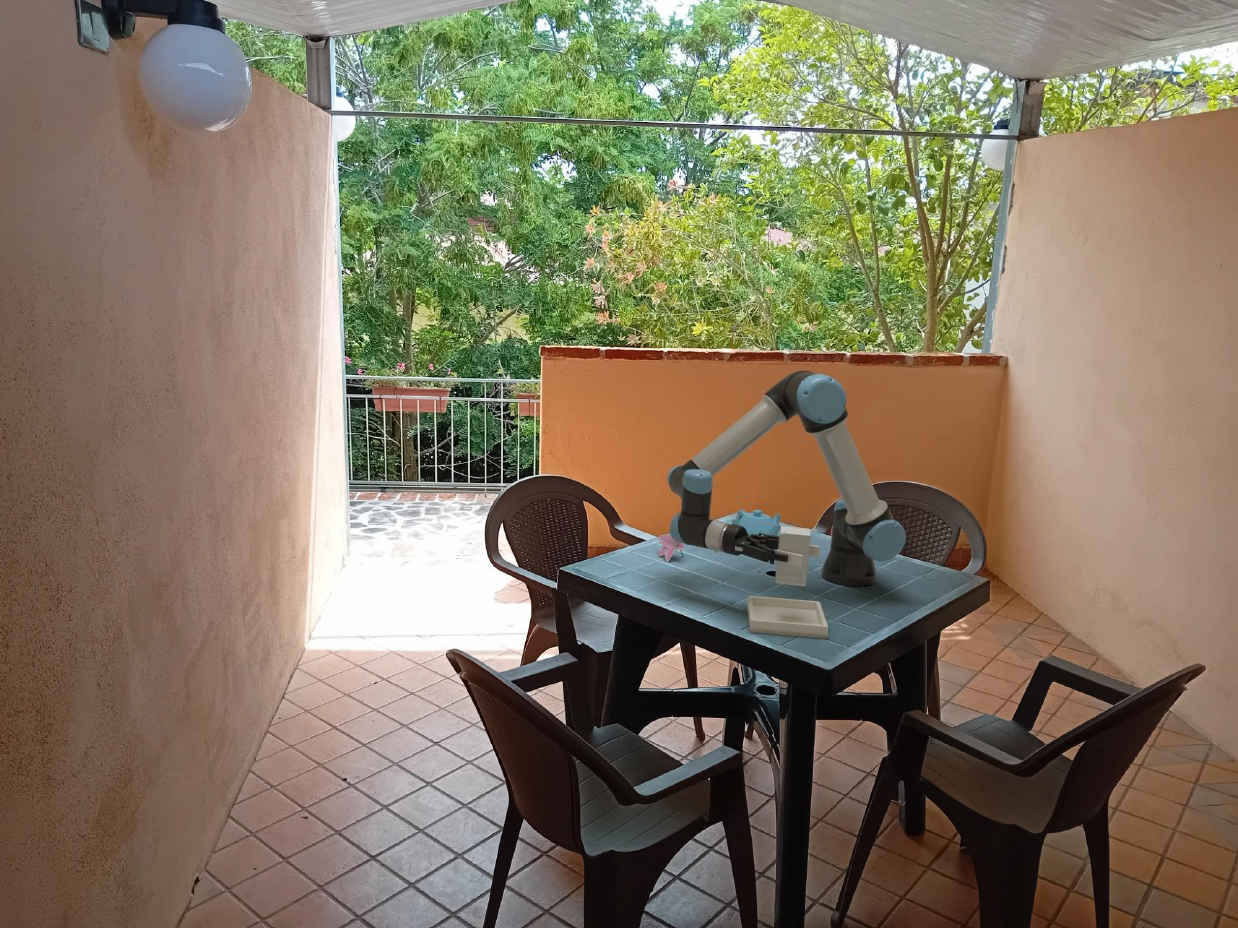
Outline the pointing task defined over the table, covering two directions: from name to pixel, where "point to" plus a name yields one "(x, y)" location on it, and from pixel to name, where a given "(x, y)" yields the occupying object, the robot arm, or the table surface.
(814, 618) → the tray
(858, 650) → the table surface
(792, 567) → the supplement box
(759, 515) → the teapot
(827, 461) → the robot arm
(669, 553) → the lily
